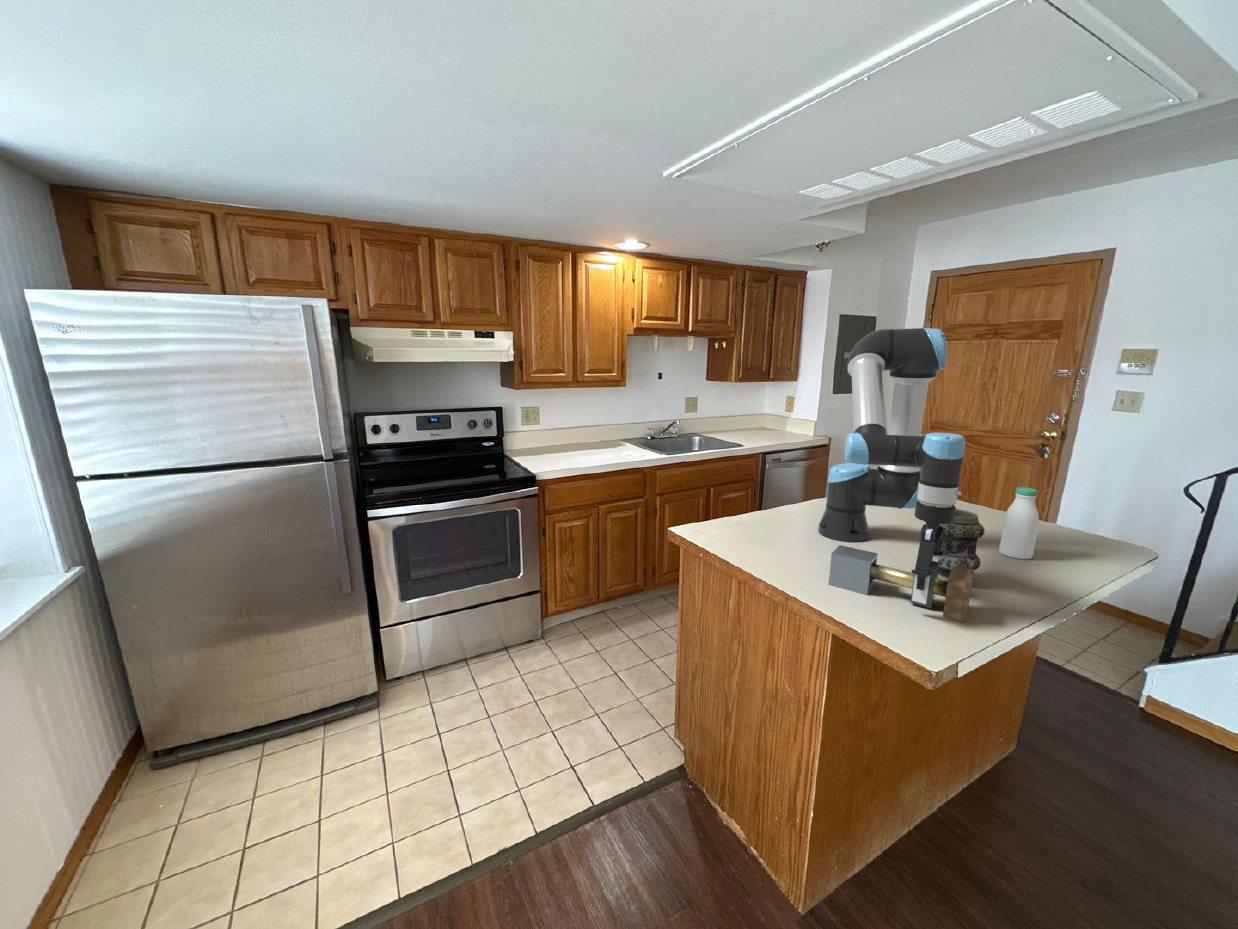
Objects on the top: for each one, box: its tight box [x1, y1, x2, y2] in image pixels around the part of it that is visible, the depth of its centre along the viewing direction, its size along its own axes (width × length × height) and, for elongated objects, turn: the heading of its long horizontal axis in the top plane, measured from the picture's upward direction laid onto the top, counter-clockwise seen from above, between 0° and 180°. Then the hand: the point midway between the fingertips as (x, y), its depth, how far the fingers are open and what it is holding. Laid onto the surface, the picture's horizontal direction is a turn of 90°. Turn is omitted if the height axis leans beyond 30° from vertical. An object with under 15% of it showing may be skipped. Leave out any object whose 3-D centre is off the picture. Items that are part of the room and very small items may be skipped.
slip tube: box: [870, 561, 948, 609], centre depth 114 cm, size 20×5×10 cm, turn 50°
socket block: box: [942, 565, 975, 623], centre depth 109 cm, size 4×8×10 cm, turn 140°
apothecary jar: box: [936, 508, 986, 581], centre depth 125 cm, size 12×12×18 cm
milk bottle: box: [998, 486, 1040, 560], centre depth 140 cm, size 8×8×20 cm
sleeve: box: [828, 544, 879, 596], centre depth 122 cm, size 9×7×8 cm
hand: (924, 591), depth 113 cm, fingers open, 13 cm apart
